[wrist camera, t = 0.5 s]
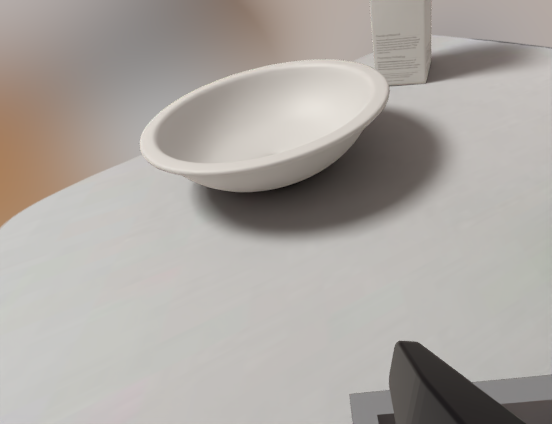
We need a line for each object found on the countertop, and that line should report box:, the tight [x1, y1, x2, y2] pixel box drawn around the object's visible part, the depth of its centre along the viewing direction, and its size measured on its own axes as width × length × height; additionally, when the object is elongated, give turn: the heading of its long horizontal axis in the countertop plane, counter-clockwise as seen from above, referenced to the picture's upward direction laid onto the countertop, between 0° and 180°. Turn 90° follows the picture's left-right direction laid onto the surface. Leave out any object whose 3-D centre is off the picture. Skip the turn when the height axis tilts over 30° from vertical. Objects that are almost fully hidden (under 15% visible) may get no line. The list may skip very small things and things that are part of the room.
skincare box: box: [370, 0, 432, 86], centre depth 53 cm, size 8×7×16 cm
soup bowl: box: [140, 59, 390, 192], centre depth 43 cm, size 24×24×7 cm
